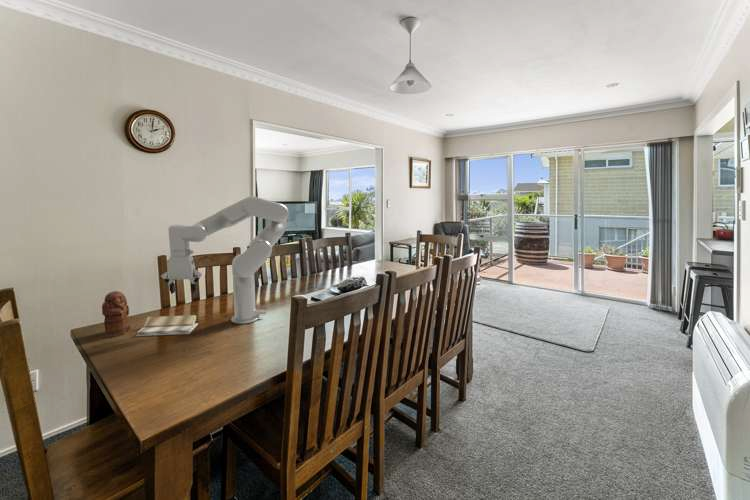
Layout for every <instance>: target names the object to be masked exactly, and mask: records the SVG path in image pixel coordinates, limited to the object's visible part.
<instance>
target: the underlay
mask: <svg viewBox="0 0 750 500" xmlns="http://www.w3.org/2000/svg"><path fill="white" fill-rule="evenodd" d="M198 325H199V323H197V322H195V323H194V327H193V328H192V329H191V331H190V332H189V333H177V334H155V335H154V336H168V335H169V336H171V335H189V334H191V333H192V332H193V330H194V329H195V328H196V327H197V326H198ZM147 336H148V337H149V336H152V335H137V334H136V335H135V337H147Z"/></svg>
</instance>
